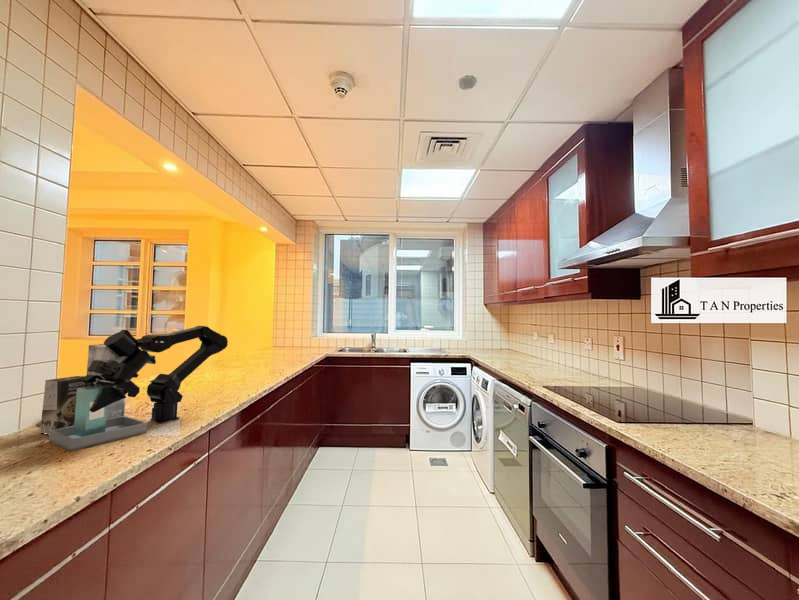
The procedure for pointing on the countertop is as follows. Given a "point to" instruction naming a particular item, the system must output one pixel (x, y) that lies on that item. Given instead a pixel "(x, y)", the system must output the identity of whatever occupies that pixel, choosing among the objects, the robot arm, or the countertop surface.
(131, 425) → the tray
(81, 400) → the tea tin
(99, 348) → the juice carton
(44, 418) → the coffee box
